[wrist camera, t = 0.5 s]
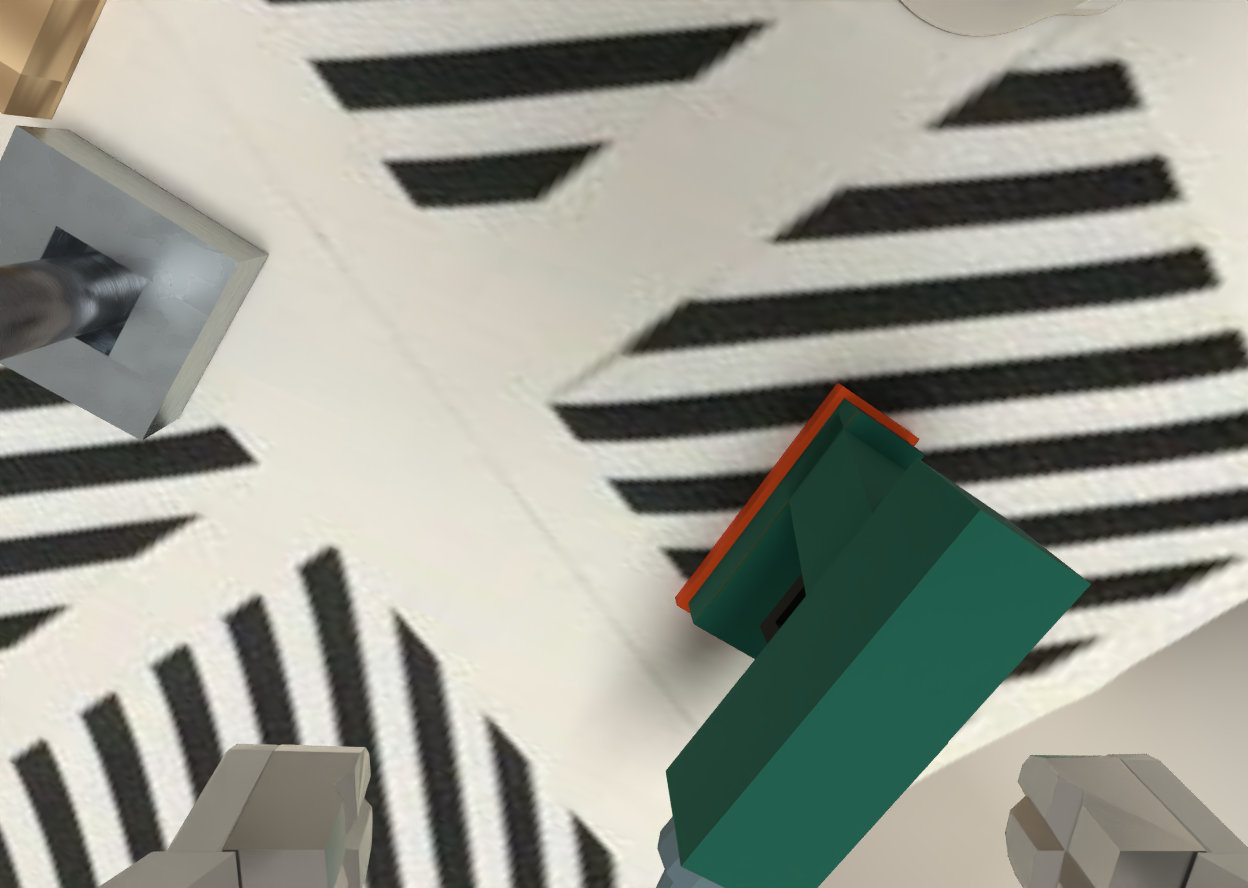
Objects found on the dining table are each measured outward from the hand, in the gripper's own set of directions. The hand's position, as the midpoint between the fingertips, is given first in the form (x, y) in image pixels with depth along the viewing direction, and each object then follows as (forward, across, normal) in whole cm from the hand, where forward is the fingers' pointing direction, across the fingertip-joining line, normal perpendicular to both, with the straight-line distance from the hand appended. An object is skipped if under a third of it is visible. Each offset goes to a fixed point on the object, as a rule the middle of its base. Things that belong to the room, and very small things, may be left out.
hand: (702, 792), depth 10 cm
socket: (+42, +28, +1) cm, 50 cm away
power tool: (+42, -11, +20) cm, 48 cm away
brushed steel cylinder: (+41, +28, +1) cm, 50 cm away
